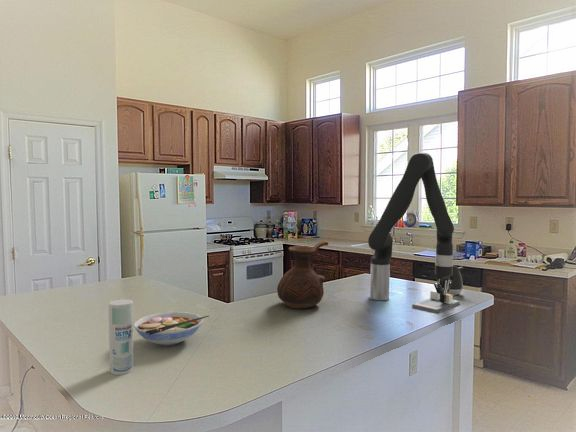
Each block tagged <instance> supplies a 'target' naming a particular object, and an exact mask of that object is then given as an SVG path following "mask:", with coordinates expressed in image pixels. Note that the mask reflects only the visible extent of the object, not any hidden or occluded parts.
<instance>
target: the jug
mask: <svg viewBox="0 0 576 432" xmlns="http://www.w3.org/2000/svg"><path fill="white" fill-rule="evenodd" d="M323 246H324V247H325V246H329V241H328V240H326V239H323V240H320V241H318V243H317V244H316V245H314V246H308V245H294V246H289V247H288V251H289V252H291V253H293V256H294V264H293V266H292V267H291V268H290V269H289V270H288V271H286V272H285V273H284V274H283V276H282V277H281V279H280V280H279V282H278V284H277V288H276V289H277V291H276V292H277V296H278V299H280V301H281V302H283V303H284V304H285V306H287V307H289V308H291V309H298V310H299V309H309V308H312V307H314V306H316V305H318V304H319V303H320V302H322V299H323V297H324V293H325V292H324V291H325V290H324V280H325V275H321V274H317V273H316V271H315V270H313V269H312V266H311V262H310V260H311V256H313V255H314V254H316V253H317V252H318V251H319V249H320V248H321V247H323Z"/></svg>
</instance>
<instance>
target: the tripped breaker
mask: <svg viewBox="0 0 576 432" xmlns="http://www.w3.org/2000/svg"><path fill="white" fill-rule="evenodd" d="M453 296H454V295H451V294H446V302H445V303H447V304H451V303H452V300H454V299H453V298H454V297H453Z"/></svg>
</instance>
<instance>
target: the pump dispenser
mask: <svg viewBox="0 0 576 432" xmlns="http://www.w3.org/2000/svg"><path fill="white" fill-rule="evenodd" d="M463 269H464V267H463V266H460V267H458V266H456V264H453V274H452V276H449V277H450V281H452V284H451V287H450V290H449V292H447V294H451V295H453V296H458V295H460V294H461V293H462V290H463V289H464V285H463V283H464V282H463V276H462V273H461V270H463Z"/></svg>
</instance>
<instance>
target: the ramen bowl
mask: <svg viewBox="0 0 576 432" xmlns="http://www.w3.org/2000/svg"><path fill="white" fill-rule="evenodd" d="M209 317H210V315H205V316H200V315H198V314H197V313H193V312H186V311H184V312H183V311H167V312H160V313H158V312H157V313H152V314H149V315H146V316H143V317H140V318H138V319H137V320H135V321H134V322H133V328H135V330H136V332H137V333H138V334H139V335H140V336H141V337H142V338H143V339H145V341H147V342H148V343H152V344H156V345H159V346H167V347H168V346H169V347H170V346H174V345H177V344H179V343H181V342H184V341H186V340H188V339H189V338H191V337H192V336H194V335H195V333H196V332H197V331H198V330H199V328H200V326H201V325H202V324H203V319H206V318H209Z"/></svg>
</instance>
